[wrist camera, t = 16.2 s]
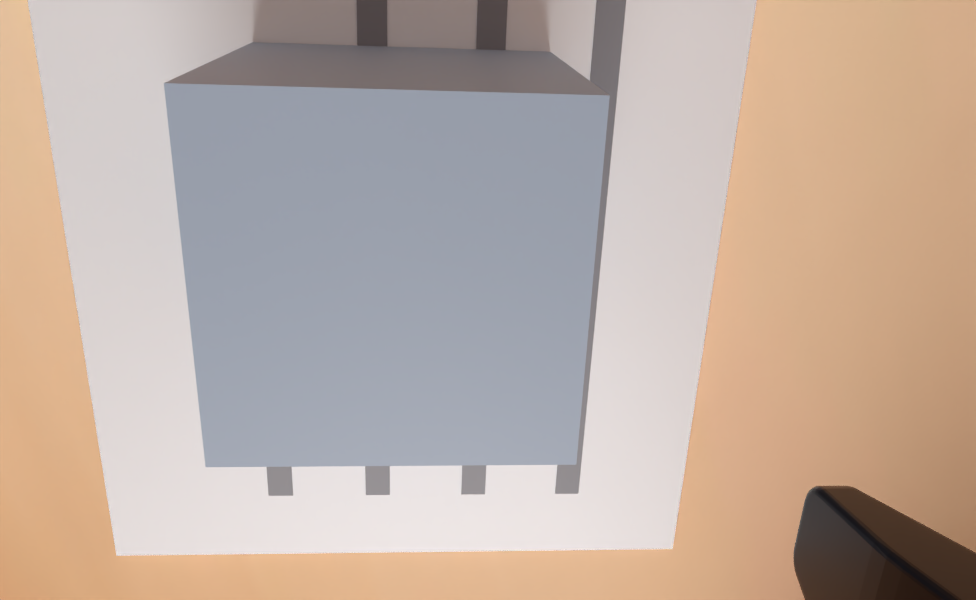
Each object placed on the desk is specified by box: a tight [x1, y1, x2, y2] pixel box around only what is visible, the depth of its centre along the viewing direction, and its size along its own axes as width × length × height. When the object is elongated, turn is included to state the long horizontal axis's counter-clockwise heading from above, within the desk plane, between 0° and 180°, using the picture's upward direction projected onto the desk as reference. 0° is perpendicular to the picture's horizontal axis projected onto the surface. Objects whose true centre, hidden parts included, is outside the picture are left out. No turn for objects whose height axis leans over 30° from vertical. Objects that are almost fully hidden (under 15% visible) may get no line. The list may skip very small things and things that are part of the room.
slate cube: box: [164, 42, 610, 467], centre depth 13 cm, size 5×5×5 cm
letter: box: [28, 0, 757, 556], centre depth 15 cm, size 16×12×1 cm
